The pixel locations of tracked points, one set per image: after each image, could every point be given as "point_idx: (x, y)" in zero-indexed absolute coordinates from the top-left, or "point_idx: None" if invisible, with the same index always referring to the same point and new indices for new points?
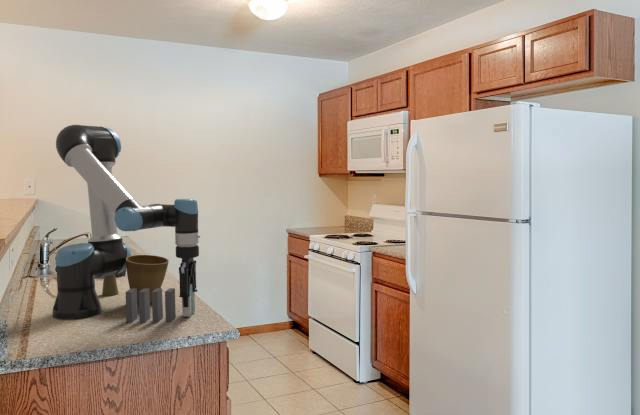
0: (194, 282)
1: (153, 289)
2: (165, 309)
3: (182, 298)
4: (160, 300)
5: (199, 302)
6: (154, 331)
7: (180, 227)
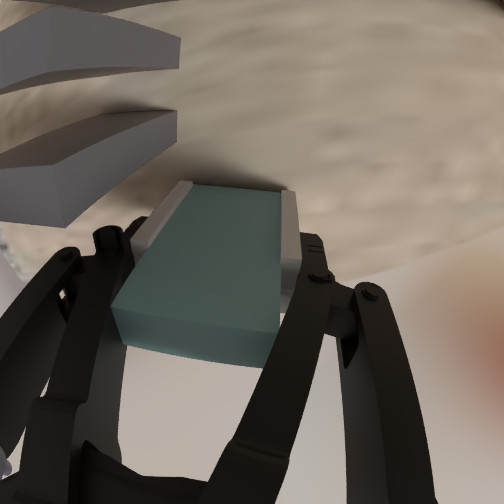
0: (341, 373)
1: None
2: (55, 130)
3: (135, 236)
4: (70, 75)
5: (477, 235)
6: (8, 121)
7: None
